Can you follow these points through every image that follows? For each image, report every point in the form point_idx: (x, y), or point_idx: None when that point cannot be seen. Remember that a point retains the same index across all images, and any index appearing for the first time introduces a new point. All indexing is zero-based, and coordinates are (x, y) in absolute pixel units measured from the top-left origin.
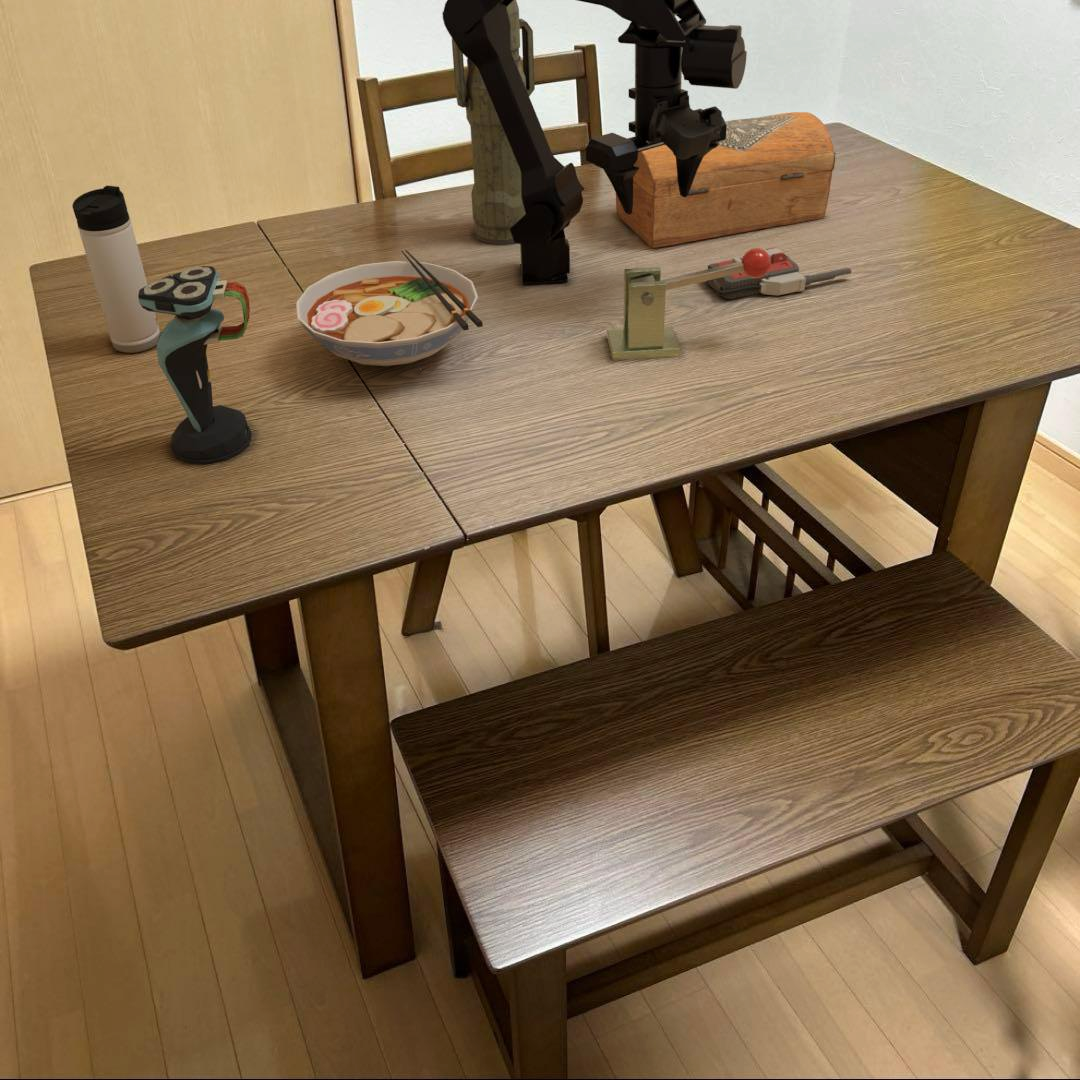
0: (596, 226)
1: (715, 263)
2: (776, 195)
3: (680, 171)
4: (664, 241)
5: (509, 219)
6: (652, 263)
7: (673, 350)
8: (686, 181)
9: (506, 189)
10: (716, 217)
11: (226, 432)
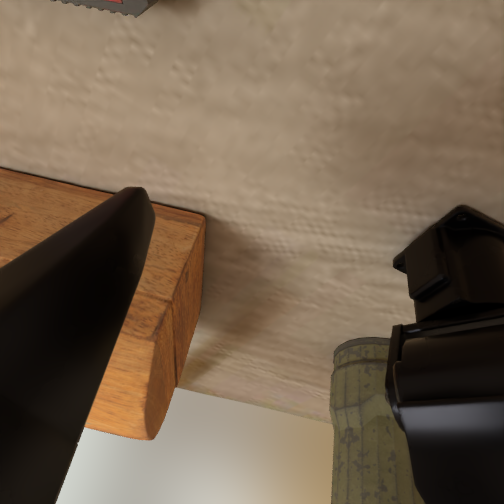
0: (245, 309)
1: (119, 1)
2: None
3: (101, 328)
4: (176, 216)
5: None
6: (236, 172)
7: None
8: (97, 250)
9: (402, 435)
10: (47, 211)
11: None
